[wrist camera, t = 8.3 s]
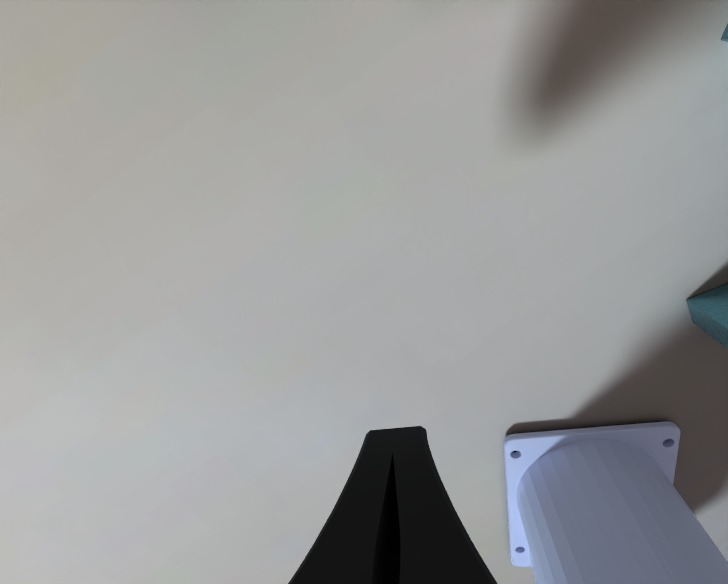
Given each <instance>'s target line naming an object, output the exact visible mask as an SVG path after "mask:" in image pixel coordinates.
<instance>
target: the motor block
mask: <svg viewBox="0 0 728 584" xmlns="http://www.w3.org/2000/svg"><path fill="white" fill-rule="evenodd" d="M721 40H723V41H728V25H727V27H726V30H725V32H724V34H723V36H722V38H721ZM686 301H687V304H688V307H689V310H690V313H691V316H692V320H693V323H695V324H696V325H697V326H699V327H700V328H701V329H703V330H704V331H705V332H707V333H708V334H709V335H711V336H712V337H713V338H714V339H716V340H717V341H718V342H720V343H721V344H722V345H724V346H725V347H726V348H728V283H727V284H725V285H722V286H720V287H717V288H715V289H712V290H710V291H707V292H705V293H702V294H700V295H697V296H695V297H692V298H690V299H687V300H686Z"/></svg>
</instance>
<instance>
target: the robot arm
mask: <svg viewBox="0 0 728 584" xmlns="http://www.w3.org/2000/svg"><path fill="white" fill-rule="evenodd" d="M680 435H681V432H680V429H679V428H678V427H677V426H676V424H675V423H673V422H668V421H665V422H653V423H641V424H629V425H616V426H604V427H592V428H580V429H567V430H555V431H543V432H531V433H518V434H511V435H508V436H507V437H505V439H504V442H503V446H504V462H505V479H506V496H507V513H508V529H509V546H510V558H511V562H512V564H513V565H515V566H517V567H531V568H532V571H533V575H534V578H535V582H536V584H728V562H727V561H726V559H725V558H724V556H723V555H722V554H721V552H720V551H719V549H718V548H717V547H716V545H715V544H714V542H713V541H712V539H711V538H710V537H709V535H708V534H707V532H706V531H705V530H704V528H703V527H702V525H701V524H700V523H699V521H698V520H697V518H696V517H695V515H694V514H693V513H692V511H691V510H690V508H689V507H688V506H687V504H686V503H685V501H684V500H683V499H682V497H681V496H680V494H679V493H678V492H677V490H676V489H675V487H674V486H673V482H674V475H675V469H676V462H677V455H678V448H679V441H680ZM666 439H668V440H667V441H665V440H666ZM512 451H517V452H515V453H512ZM288 584H497V582H496V581H495V579H494V577H493V576H492V574H491V573H490V571H489V569H488V568H487V566H486V565H485V563H484V561H483V560H482V558H481V556H480V555H479V553H478V551H477V549H476V548H475V546H474V544H473V542H472V541H471V539H470V537H469V535H468V533H467V532H466V530H465V528H464V526H463V524H462V522H461V520H460V519H459V517H458V515H457V513H456V511H455V509H454V507H453V505H452V503H451V500H450V498H449V496H448V494H447V492H446V490H445V487H444V485H443V483H442V481H441V478H440V476H439V474H438V471H437V469H436V466H435V463H434V460H433V458H432V455H431V451H430V448H429V444H428V440H427V433H426V429H424V428H423V427H421V426H416V427H404V428H393V429H381V430H370V431H369V432H368V433H367V434H366V437H365V440H364V442H363V445H362V448H361V450H360V453H359V455H358V458H357V460H356V463H355V465H354V467H353V469H352V472H351V474H350V476H349V478H348V480H347V482H346V484H345V486H344V489H343V491H342V493H341V495H340V497H339V499H338V501H337V503H336V505H335V507H334V509H333V511H332V512H331V514H330V516H329V518H328V520H327V521H326V523H325V525H324V527H323V528H322V530H321V532H320V534H319V536H318V537H317V539H316V541H315V543H314V544H313V546H312V548H311V549H310V551H309V552H308V554H307V556H306V557H305V559H304V561H303V562H302V564H301V565H300V567H299V568H298V570H297V571H296V573H295V574H294V576H293V577H292V579H291V580H290V582H289V583H288Z"/></svg>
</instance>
